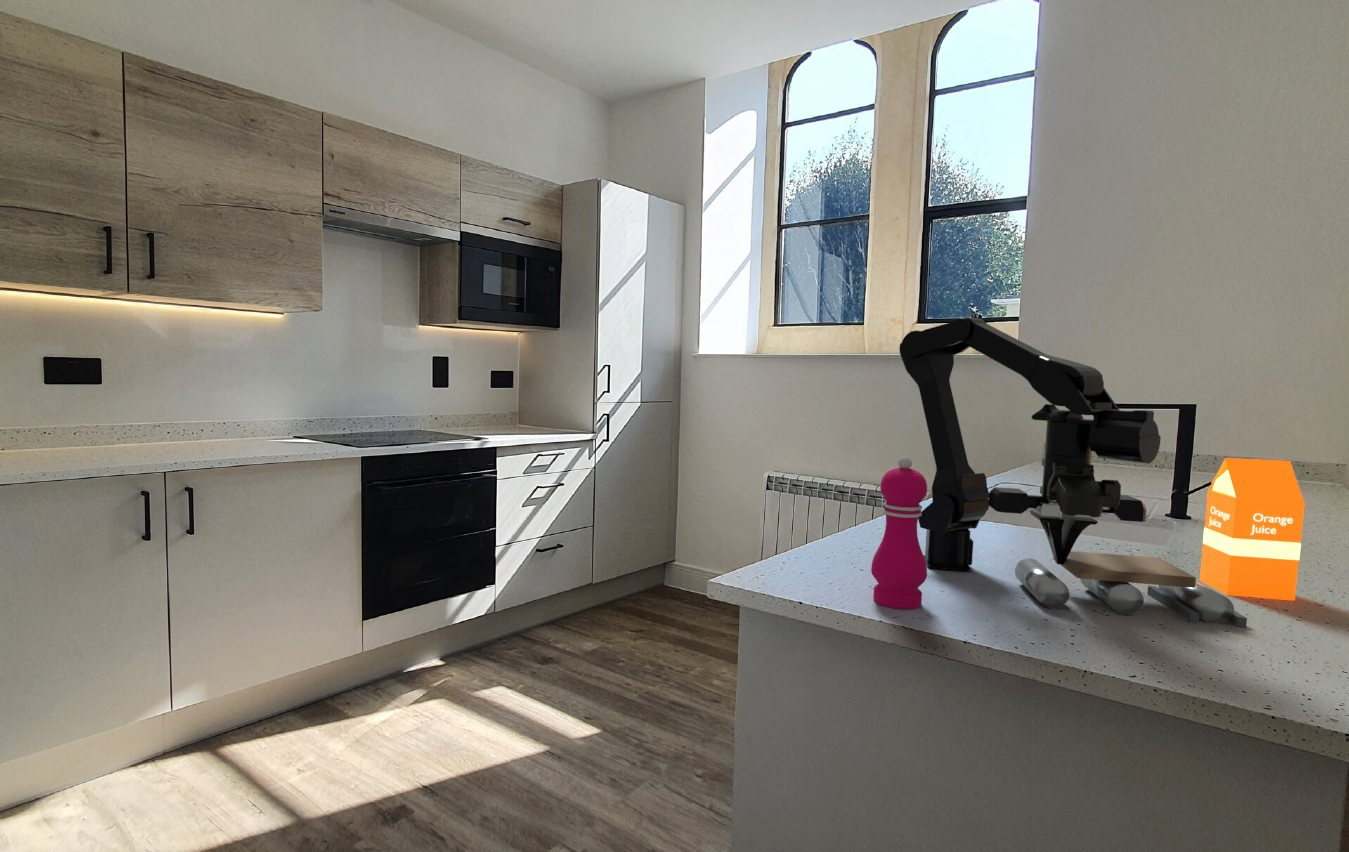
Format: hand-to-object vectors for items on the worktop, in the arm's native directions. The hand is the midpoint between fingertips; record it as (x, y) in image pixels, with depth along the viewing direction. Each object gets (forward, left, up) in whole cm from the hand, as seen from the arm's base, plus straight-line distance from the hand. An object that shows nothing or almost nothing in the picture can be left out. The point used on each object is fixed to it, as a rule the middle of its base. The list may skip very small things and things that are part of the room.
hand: (1059, 563), depth 98 cm
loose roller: (+17, 0, -3) cm, 17 cm away
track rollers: (+2, 0, -5) cm, 5 cm away
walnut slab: (+8, 0, -1) cm, 8 cm away
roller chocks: (+17, 0, -5) cm, 18 cm away
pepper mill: (-23, -9, -5) cm, 25 cm away
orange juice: (+30, +13, -5) cm, 33 cm away
